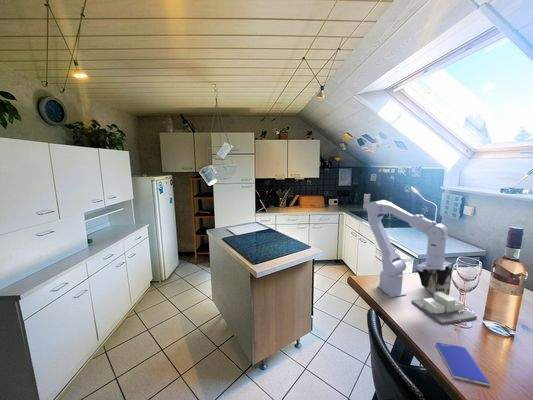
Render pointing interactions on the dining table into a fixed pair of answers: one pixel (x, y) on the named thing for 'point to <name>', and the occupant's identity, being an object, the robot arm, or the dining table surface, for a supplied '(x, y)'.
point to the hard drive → (461, 363)
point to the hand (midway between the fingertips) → (432, 285)
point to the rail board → (446, 315)
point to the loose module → (445, 301)
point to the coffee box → (433, 284)
